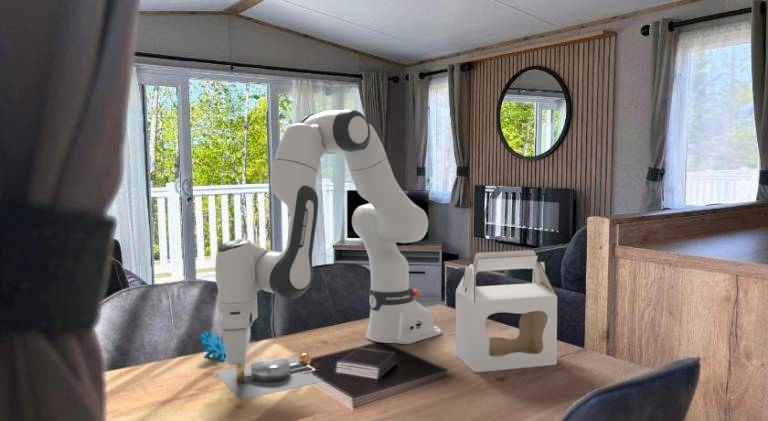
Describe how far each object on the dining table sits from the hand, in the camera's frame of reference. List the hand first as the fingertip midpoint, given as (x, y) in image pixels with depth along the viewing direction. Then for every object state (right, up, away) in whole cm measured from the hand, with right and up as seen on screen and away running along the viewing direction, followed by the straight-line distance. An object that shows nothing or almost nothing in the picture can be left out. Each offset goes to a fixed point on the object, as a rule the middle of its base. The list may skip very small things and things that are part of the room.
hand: (240, 370), depth 135 cm
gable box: (+64, -2, +14) cm, 65 cm away
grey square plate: (+7, -3, +2) cm, 8 cm away
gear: (-10, -2, +17) cm, 20 cm away
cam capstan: (+7, -2, +3) cm, 8 cm away
